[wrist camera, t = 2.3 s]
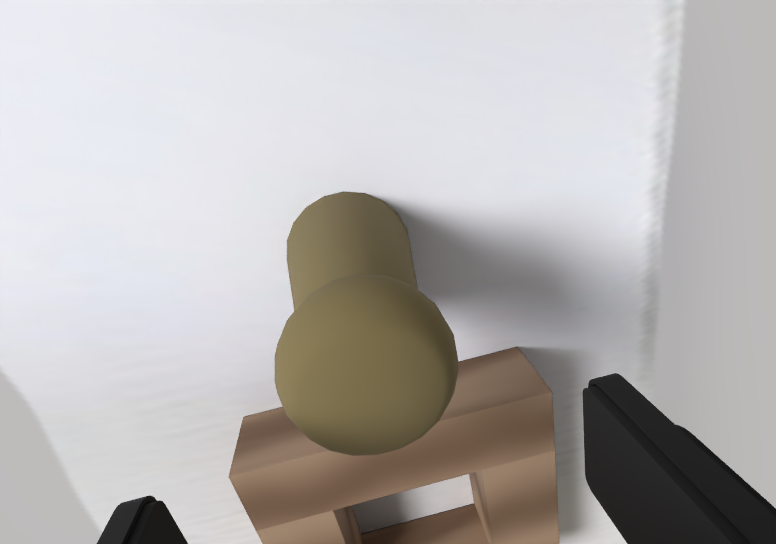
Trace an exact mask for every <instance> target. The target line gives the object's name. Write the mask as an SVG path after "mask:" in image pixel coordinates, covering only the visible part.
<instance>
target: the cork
mask: <svg viewBox="0 0 776 544" xmlns="http://www.w3.org/2000/svg"><path fill="white" fill-rule="evenodd" d="M287 263H288V270H289V277H290V284H291V290H292V297H293V304H294V312H293V314H292V315H291V316H290V317H289V319H288V320H287V322H286V324H285V327H284V329H283V332H282V334H281V337H280V339H279V342H278V344H277V349H276V353H275V384H276V389H277V393H278V396H279V398H280V401H281V403H282V405H283V408H284V410H285V413H286V415H287V416H288V417H289V419H290V420H291V421H292V422H293V423H294V424H295V425H296V426H297V427H298V428H299V429H300V430H301V431H302V432H303V433H304V434H305V435H306V436H307V438H308V439H309V440H311V441H313V442H315V443H317V444H318V445H320V446H322V447H324V448H326V449H328V450H330V451H334V452H338V453H343V454H347V455H352V456H362V455H379V454H383V453H387V452H390V451H394V450H398V449H401V448H403V447H405V446H407V445H408V444H410V443H412V442H414V441H416V440H417V439H419V438H421V437H422V436H424V435H425V434H426V433H427V432H428V431H429V430H430V429H431V428H432V427H433V426H434V425H435V424H436V423H437V422H438V421H439V420H440V418H441V416H442V415H443V413H444V411H445V409H446V408H447V406H448V404H449V403H450V400H451V398H452V396H453V394H454V391H455V386H456V381H457V376H458V371H459V367H458V357H457V351H456V346H455V340H454V334H453V333H452V331H451V329H450V327H449V326H448V324H447V322H446V321H445V319H444V317H443V316H442V314H441V312H440V311H439V309H438V308H437V306H436V304H435V303H434V302H432V301H431V300H430V299H428V298H427V297H426V296H425V295H423V294H422V293H421V292H420V291H418V288H417V282H416V277H415V271H414V265H413V260H412V254H411V248H410V243H409V238H408V233H407V229H406V227H405V226H404V224H403V222H402V220H401V219H400V217H399V215H398V214H397V213H396V212H395V211H394V210H393V209H392V208H391V207H389V206H388V205H387V204H386V203H385V202H384V201H382V200H380V199H377V198H375V197H372V196H370V195H367V194H365V193H355V192H340V193H336V194H332V195H328V196H324V197H322V198H321V199H319V200H317V201H316V202H314V203H312V204H311V205H309V206H308V207H306V208H305V210H304V211H303V212H302V213H301V214H300V216H299V217H298V218H297V219H296V220H295V222H294V223H293V226H292V229H291V231H290V234H289V237H288V239H287Z"/></svg>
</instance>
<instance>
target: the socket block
mask: <svg viewBox="0 0 776 544" xmlns="http://www.w3.org/2000/svg"><path fill="white" fill-rule="evenodd" d="M458 367H459V371H458V376H457V381H456V386H455V391H454V394H453V396H452V398H451V400H450V403H449V404H448V406H447V408H446V409H445V411H444V413H443V415H442V416H441V418H440V420H439V421H438V422H437V423H436V424H435V425H434V426H433V427H432V428H431V429H430V430H429V431H428V432H427V433H426V434H425V435H424V436H422V437H421V438H419V439H417V440H416V441H414V442H412V443H410V444H408V445H407V446H405V447H403V448H401V449H398V450H394V451H390V452H387V453H383V454H379V455H362V456H352V455H347V454H343V453H338V452H334V451H330V450H328V449H326V448H324V447H322V446H320V445H318V444H317V443H315V442H313V441H311V440H309V439H308V438H307V436H306V435H305V434H304V433H303V432H302V431H301V430H300V429H299V428H298V427H297V426H296V425H295V424H294V423H293V422H292V421H291V420H290V419H289V417H288V416H287V415H286V413H285V410H284V408H283V407H281V408H277V409H273V410H269V411H265V412H262V413H258V414H254V415H250V416H246V417H243V421H242V425H241V429H240V433H239V437H238V441H237V445H236V449H235V453H234V457H233V461H232V465H231V469H230V473H229V479H230V481H231V482H232V484H233V486H234V488H235V490H236V492H237V494H238V496H239V498H240V500H241V502H242V504H243V506H244V508H245V510H246V512H247V514H248V516H249V518H250V520H251V522H252V524H253V526H254V528H255V530H256V532H257V533H258V535H259V537H260V539H261V541H262V543H263V544H559V527H558V506H557V486H556V465H555V444H554V424H553V403H552V391H551V390H550V389H549V387H548V386H547V385H546V383H545V382H544V381H543V379H542V378H541V377H540V376H539V374H538V373H537V372H536V370H535V369H534V368H533V366H532V365H531V364H530V362H529V361H528V360H527V359H526V357H525V356H524V355H523V353H522V352H521V351H520V349H519V348H518V347H515V348H511V349H507V350H503V351H499V352H496V353H492V354H488V355H484V356H480V357H476V358H472V359H468V360H464V361H460V362H458ZM466 474H469V475H470V481H471V487H472V492H473V498H474V504H471V505H468V506H464V507H460V508H457V509H453V510H450V511H446V512H442V513H439V514H435V515H431V516H428V517H424V518H420V519H417V520H413V521H409V522H406V523H402V524H398V525H395V526H391V527H387V528H384V529H380V530H376V531H373V532H369V533H365V534H362V535H361V532H360V530H359V527H358V524H357V521H356V518H355V515H354V513H353V510H352V507H351V505H355V504H358V503H362V502H366V501H369V500H373V499H377V498H381V497H384V496H388V495H392V494H395V493H399V492H403V491H406V490H410V489H414V488H418V487H421V486H425V485H429V484H432V483H436V482H440V481H444V480H447V479H451V478H455V477H458V476H462V475H466Z"/></svg>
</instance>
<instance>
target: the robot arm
mask: <svg viewBox="0 0 776 544" xmlns="http://www.w3.org/2000/svg"><path fill="white" fill-rule="evenodd" d="M583 416H584V449H585V475H586V480H587V483H588V485H589V487H590V489H591V491H592V493H593V494H594V496H595V497H596V499H597V500H598V501H599V503H600V504H601V506H602V507H603V509H604V510H605V512H606V513H607V515H608V516H609V517H610V519H611V520H612V522H613V523H614V525H615V526H616V528H617V529H618V531H619V532H620V533H621V535H622V536H623V538H624V539H625V541H626V542H627V544H776V509H775V508H774V507H773V506H772V505H771V504H770V503H769V502H768V501H767V500H766V499H764V498H763V497H762V496H761V495H760V494H759V493H758V492H757V491H755V490H754V489H753V488H752V487H751V486H750V485H749V484H748V483H746V482H745V481H744V480H743V479H742V478H741V477H740V476H739V475H738V474H736V473H735V472H734V471H733V470H732V469H731V468H730V467H729V466H728V465H726V464H725V463H724V462H723V461H722V460H721V459H720V458H718V457H717V456H716V455H715V454H714V453H713V452H712V451H711V450H710V449H708V448H707V447H706V446H705V445H704V444H703V443H702V442H701V441H700V440H698V439H697V438H696V437H695V436H694V435H693V434H691V433H690V432H689V431H688V430H686V429H685V428H683V427H681V426H678V425H675V424H674V423H672V422H671V421H670V420H669V419H668V418H667V417H666V416H665V415H664V414H663V413H662V412H660V411H659V410H658V409H657V408H656V407H655V406H654V405H653V404H652V403H651V402H650V401H648V400H647V399H646V398H645V397H644V396H643V395H642V394H641V393H640V392H639V391H637V390H636V389H635V388H634V387H633V386H632V385H631V384H630V383H629V382H628V381H627V380H625V379H624V378H623V377H622V376H621V375H619V374H616V373H615V374H611V375H607V376H603V377H599V378H596V379H592V380H590V381H589V385H588V388H585V389H584V390H583ZM97 544H188V543H187V541H186V539H185V538H184V536H183V534H182V533H181V531H180V529H179V528H178V526H177V524H176V522H175V521H174V519H173V517H172V516H171V514H170V512H169V510H168V509H167V507H166V505H165V504H164V503H163V501H157V500H156V499H155V498H154V497H152V496H146V497H142V498H139V499H135V500H131V501H127V502H123V503H121V504H120V505H118V506H117V508H116V509H115V510H114V512H113V514H112V516H111V518H110V520H109V522H108V524H107V525H106V527H105V529H104V531H103V533H102V535H101V537H100V539H99V541H98V543H97Z"/></svg>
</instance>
